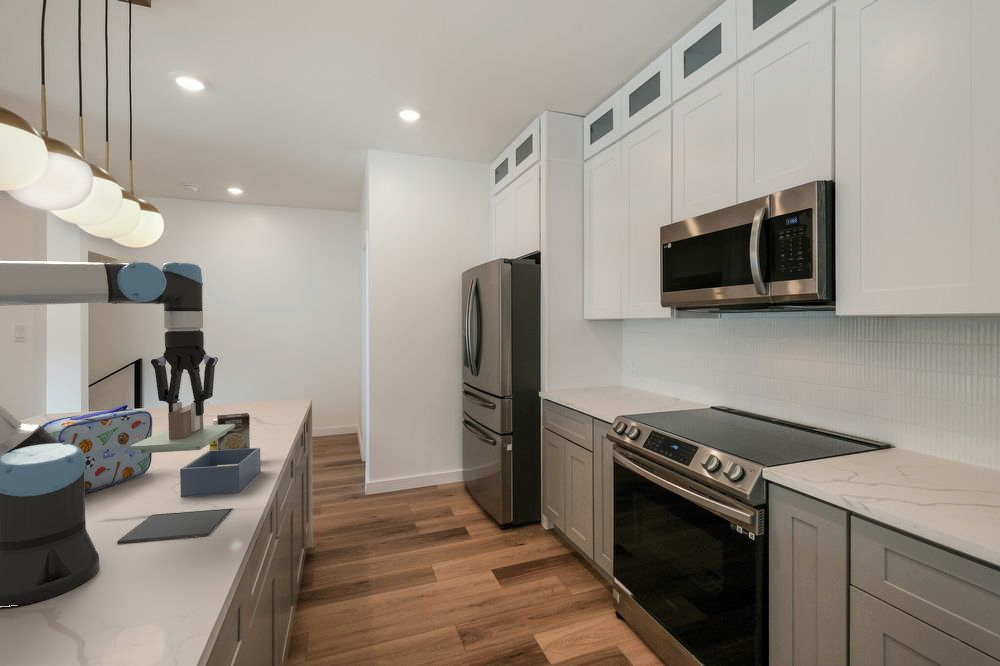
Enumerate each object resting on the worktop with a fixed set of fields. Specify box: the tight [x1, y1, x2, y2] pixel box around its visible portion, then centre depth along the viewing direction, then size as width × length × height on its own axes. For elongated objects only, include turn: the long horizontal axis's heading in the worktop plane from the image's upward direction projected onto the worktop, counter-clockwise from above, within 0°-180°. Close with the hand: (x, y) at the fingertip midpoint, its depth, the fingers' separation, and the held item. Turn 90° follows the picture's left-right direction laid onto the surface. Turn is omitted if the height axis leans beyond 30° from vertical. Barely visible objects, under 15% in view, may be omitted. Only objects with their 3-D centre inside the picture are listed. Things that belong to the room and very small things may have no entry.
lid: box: [129, 404, 235, 454], centre depth 108 cm, size 18×14×8 cm
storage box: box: [179, 447, 261, 498], centre depth 130 cm, size 18×14×8 cm
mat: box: [116, 507, 234, 545], centre depth 108 cm, size 22×17×1 cm
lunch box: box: [40, 404, 153, 494], centre depth 131 cm, size 28×10×22 cm, turn 168°
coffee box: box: [216, 412, 251, 450], centre depth 149 cm, size 9×6×16 cm
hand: (186, 429), depth 108 cm, fingers closed on lid, 3 cm apart
